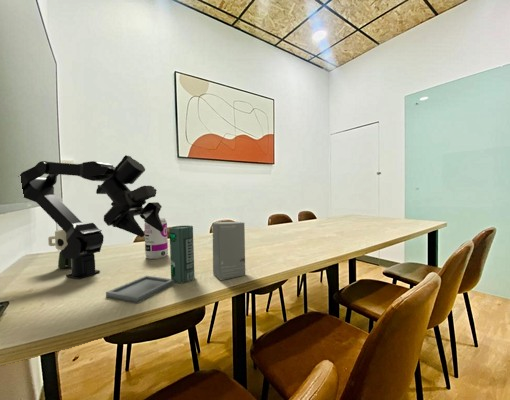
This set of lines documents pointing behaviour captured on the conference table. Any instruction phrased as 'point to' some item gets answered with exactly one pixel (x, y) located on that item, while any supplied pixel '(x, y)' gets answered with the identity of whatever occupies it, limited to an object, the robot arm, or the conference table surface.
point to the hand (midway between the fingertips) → (153, 233)
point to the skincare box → (228, 249)
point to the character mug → (60, 247)
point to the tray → (140, 289)
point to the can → (182, 253)
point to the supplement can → (156, 241)
